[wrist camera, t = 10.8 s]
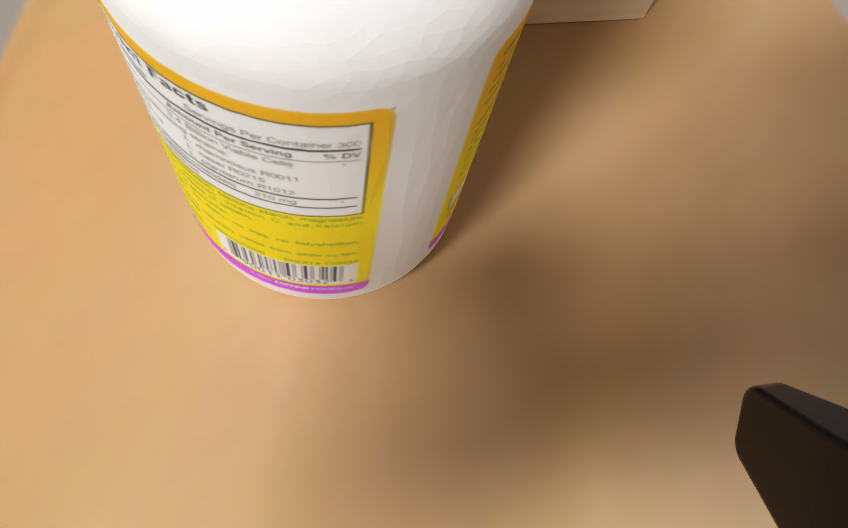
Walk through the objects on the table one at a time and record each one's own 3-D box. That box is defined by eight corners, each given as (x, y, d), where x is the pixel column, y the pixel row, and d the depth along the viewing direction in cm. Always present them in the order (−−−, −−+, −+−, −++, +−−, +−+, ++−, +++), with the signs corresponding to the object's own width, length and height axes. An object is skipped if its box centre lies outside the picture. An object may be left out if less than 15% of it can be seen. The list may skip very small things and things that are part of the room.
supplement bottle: (376, 41, 20) (447, -670, 8) (499, 235, 19) (814, -300, 7) (146, 133, 18) (-194, -616, 6) (262, 356, 17) (98, -81, 5)
